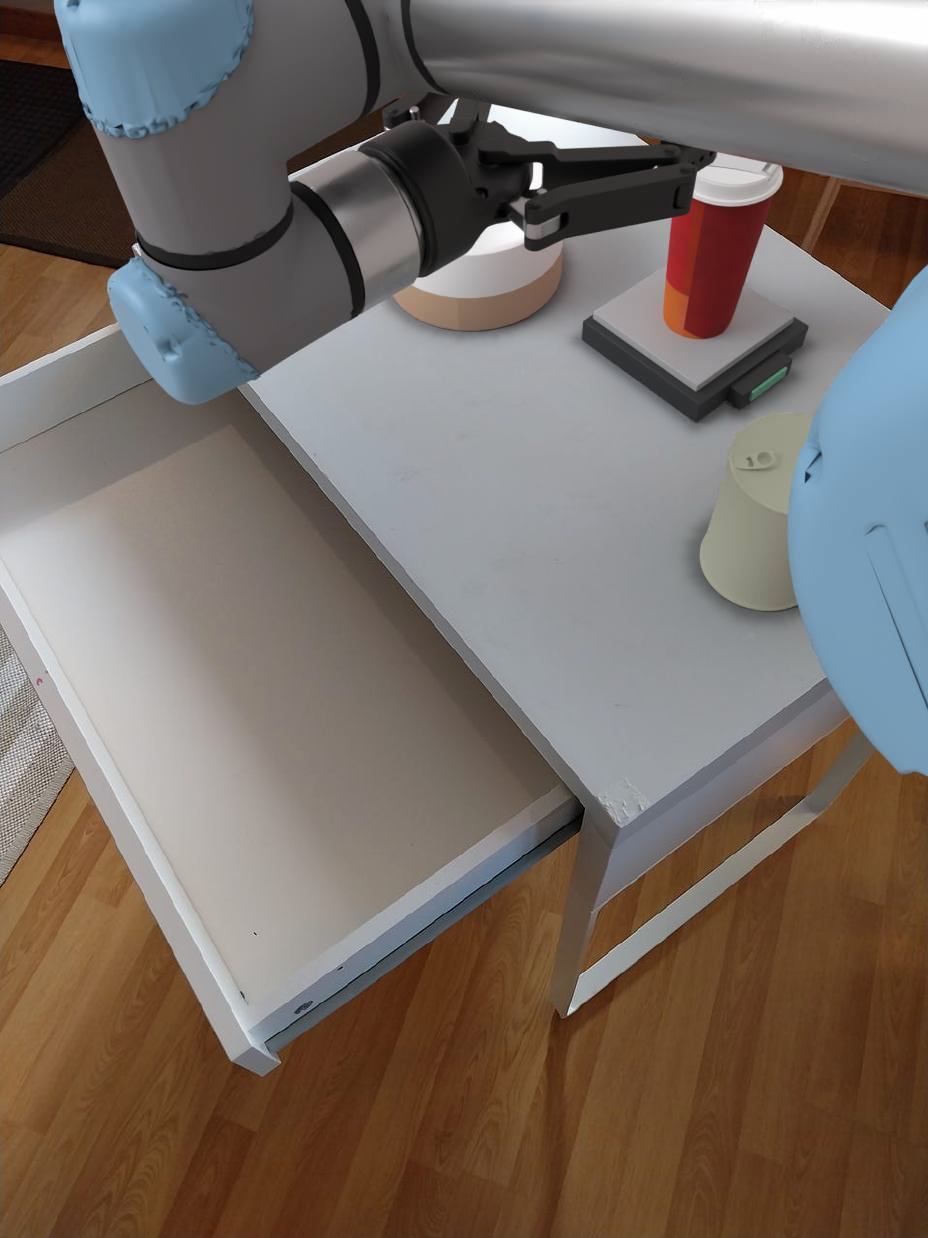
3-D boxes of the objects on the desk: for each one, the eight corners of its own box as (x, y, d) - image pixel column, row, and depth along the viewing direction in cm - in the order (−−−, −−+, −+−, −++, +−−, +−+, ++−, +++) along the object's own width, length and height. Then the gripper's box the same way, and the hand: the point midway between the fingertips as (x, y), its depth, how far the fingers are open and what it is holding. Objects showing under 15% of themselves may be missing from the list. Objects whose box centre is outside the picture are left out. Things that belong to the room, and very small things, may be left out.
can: (690, 516, 75) (719, 409, 64) (807, 511, 74) (854, 402, 64) (709, 614, 70) (743, 515, 60) (834, 609, 70) (889, 508, 59)
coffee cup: (759, 303, 83) (805, 141, 70) (720, 361, 79) (761, 200, 67) (673, 273, 85) (701, 111, 73) (631, 327, 82) (654, 167, 69)
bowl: (427, 354, 86) (419, 278, 78) (360, 247, 94) (348, 169, 87) (594, 296, 89) (601, 218, 82) (514, 197, 97) (514, 119, 90)
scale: (818, 355, 83) (828, 328, 81) (711, 434, 79) (718, 409, 76) (686, 270, 90) (691, 243, 88) (581, 339, 86) (583, 313, 83)
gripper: (274, 180, 60) (521, 55, 67) (538, 386, 49) (800, 213, 56) (246, 60, 54) (521, -66, 60) (541, 267, 43) (837, 86, 50)
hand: (656, 68), depth 58 cm, fingers open, 13 cm apart
